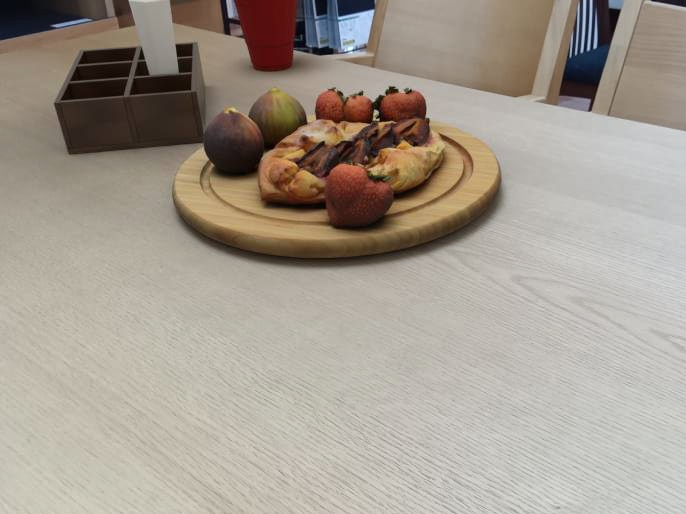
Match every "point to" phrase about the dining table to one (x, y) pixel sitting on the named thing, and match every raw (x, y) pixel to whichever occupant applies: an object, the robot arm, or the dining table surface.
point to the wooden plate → (334, 176)
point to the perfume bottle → (156, 35)
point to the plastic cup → (268, 31)
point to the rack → (131, 101)
